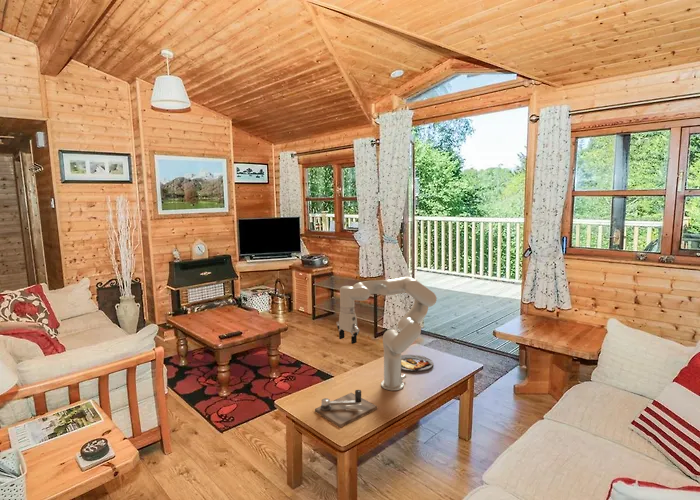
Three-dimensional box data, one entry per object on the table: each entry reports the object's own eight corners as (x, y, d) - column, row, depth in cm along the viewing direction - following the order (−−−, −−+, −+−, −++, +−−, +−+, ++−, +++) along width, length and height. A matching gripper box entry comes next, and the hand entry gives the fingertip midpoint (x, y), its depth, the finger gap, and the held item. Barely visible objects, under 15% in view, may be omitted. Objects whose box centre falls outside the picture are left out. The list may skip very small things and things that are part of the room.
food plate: (441, 367, 247) (441, 362, 246) (410, 377, 235) (410, 371, 235) (415, 355, 268) (415, 350, 268) (386, 363, 257) (386, 357, 256)
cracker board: (351, 395, 214) (351, 390, 214) (377, 408, 200) (377, 404, 200) (315, 411, 198) (314, 406, 198) (340, 427, 184) (340, 422, 184)
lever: (361, 402, 201) (360, 389, 200) (361, 407, 197) (361, 393, 196) (321, 404, 200) (321, 390, 199) (321, 408, 196) (321, 394, 195)
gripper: (363, 311, 209) (364, 343, 211) (342, 305, 222) (342, 335, 224) (353, 314, 204) (353, 347, 206) (331, 307, 217) (332, 338, 219)
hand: (347, 340), depth 215 cm, fingers open, 9 cm apart
